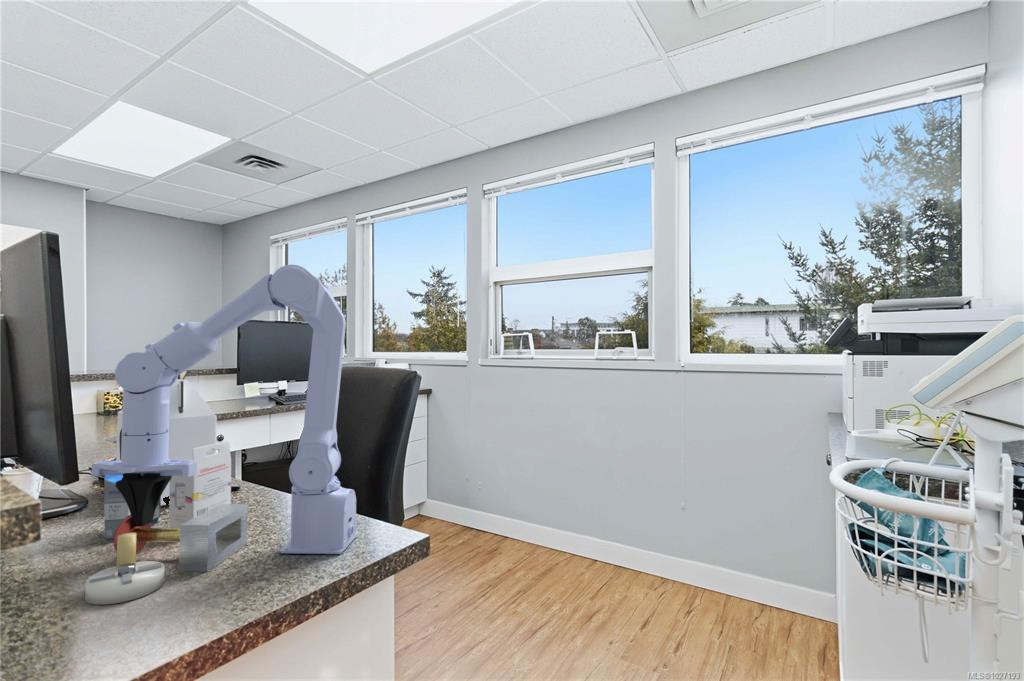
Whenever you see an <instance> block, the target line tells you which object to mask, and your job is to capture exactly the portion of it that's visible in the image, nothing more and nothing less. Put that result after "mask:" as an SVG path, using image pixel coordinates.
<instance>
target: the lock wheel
mask: <svg viewBox="0 0 1024 681" xmlns="http://www.w3.org/2000/svg"><path fill="white" fill-rule="evenodd" d="M128 563H135V564H136V571H135V573H133V574H131V573H129V574H125V575H122V576H118V567H119V566H121V565H124V564H128ZM165 569H166V568H165V564H164V563H163V562H161V561H155V560H154V561H153V560H150V561H149V560H144V561H143V560H142V561H137V554H136V533H126V534H122V535H119V536H118V539H117V552H116V565H115V566H112V567H109V568H106V569H103V570H101V571H98V572H96V573H94V574H93V575H91V576H89V577H88V578H87V580H85V585H84V586H85V589H84V590H85V591H84V592H85V593H84V600H85V602H86V603H88V604H91V605H101V606H102V605H104V606H105V605H113V604H119V603H124V602H128V601H129V602H130V601H132V600H135V599H139V598H142V597H144V596H147V595H148V594H151V593H153V592H155V591H157V590H158V589H160V588H161V587H162V586H163V585H164V584H165Z"/></svg>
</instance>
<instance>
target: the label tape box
mask: <svg viewBox="0 0 1024 681" xmlns="http://www.w3.org/2000/svg"><path fill="white" fill-rule="evenodd" d="M122 478H123V475H104V486H103V487H104V492H103V493H104V498H103V500H104V501H103V502H104V508H103V509H104V510H103V512H104V539H105V540H114V536H115V533H116V530H117V528H118V526H119V524H120V523H121V522H122V521H123V520H124V519H125V518H126V517H127V516H129V515H131V513H130V510H129V507H128V505H127V503H126V501H125V499H124V497H123V496H122V494H121V493H120V491H119V490H118V489H117V488H116V482H117V481H119V480H122ZM161 508H162V506H161V497H160V499H159V502H158V504H157V507H156V510H155V513H154V517H153V520H152V522H151V523H150V525H151V526H153V525H155V524H156V523H159V522H160V521H161V520H162V519H161V518H162V509H161Z"/></svg>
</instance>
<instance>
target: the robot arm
mask: <svg viewBox="0 0 1024 681" xmlns="http://www.w3.org/2000/svg"><path fill="white" fill-rule="evenodd" d="M287 307H288V308H289V309H291V310H293V311H294V312H296V313H298V314H299V316H300V317H301V318H302V319H303V320H304V321H305V322H306V323H307V325H309V326H310V327H311V328H312V339H311V349H310V359H309V370H308V378H307V379H308V380H307V387H306V388H307V390H306V400H305V407H304V408H305V410H304V418H303V419H304V421H303V428H302V432H301V436H300V438H299V441H298V448H297V454H296V456H295V458H294V459H293V460H292V461H291V463H290V466H289V468H288V477H289V480H290V482H291V484H292V486H291V504H290V509H291V510H290V541H289V542H287V543H286V544H285V545H284V546H282V548H280V549H279V552H278V553H279V554H303V555H304V554H305V555H307V554H309V555H310V554H314V555H316V554H319V555H321V554H322V555H323V554H325V555H329V554H330V555H340V554H343V552H344V551H346V549H347V547H348V546H349V545H351V543H352V542H353V541H354V540H355V538H357V537H358V533H357V528H356V527H357V496H356V492H355V490H354V489H352V488H345V487H342V486H341V481H339V479H338V477H337V475H335V474H336V473H337V472H338V470H339V468H340V467H341V463H342V457H341V452H340V451H339V450H340V449H339V448H338V432H337V431H338V430H337V418H338V410H339V409H338V407H339V399H340V387H341V377H342V368H343V359H344V358H343V356H344V346H345V338H346V336H345V334H346V326H347V321H346V318H345V315H344V313H343V311H342V309H341V308H340V306H339V305H338V303H337V301H336V300H335V298H334V296H333V294H332V292H331V290H330V288H329V287H328V286H327V285H326V284H325V283H324V282H322V281H321V280H320V279H319V278H318V277H316V276H315V275H313V274H312V273H311V272H310V271H309V270H308V269H307V268H305V267H303V266H300V265H298V264H287V265H286V264H285V265H283V266H280V267H279V268H278V269H276V270H275V271H274V272H273V274H272V273H269V274H267V275H265V276H263V277H261V278H260V279H259V280H258V281H257V282H255V283H254V285H251V286H250V287H249V288H248V289H247V290H245V291H244V292H241V294H239V295H238V296H237V297H235V298H234V299H233V300H231V301H230V302H229V303H227V304H226V305H225V306H223V307H221V308H220V309H219V310H218V311H216V312H215V313H213V314H212V315H211V316H209V317H207V318H206V319H205V320H204V321H203V322H198V321H187V322H186V323H183V322H178V323H177V324H175V325H173V326H172V329H173V330H174V331H172V332H170V333H169V334H167V335H166V336H165V337H163V338H162V339H160V340H158V341H157V342H155V343H154V342H150V343H148V344H146V345H145V346H144V349H145V351H144V352H141V351H140V352H139V351H137V352H130V353H127V354H126V355H125V356H124V357H123V358H122V359H121V360H120V361H119V362H118V363H117V365H116V367H115V370H114V376H115V381H116V382H117V385H118V386H120V388H122V408H123V411H122V445H121V460H116V459H115V460H101V461H96V462H92V463H91V477H101V476H105V475H123V478H122V480H119V481H117V482H116V488H117V489H118V490H119V491H120V493H121V494H122V496H123V497H124V499H125V501H126V503H127V505H128V507H129V510H130V513H131V516H132V520H133V524H134V526H145V525H147V524H149V523H151V522H152V520H153V517H154V513H155V510H156V507H157V504H158V502H159V499H160V497H161V495H162V493H163V491H164V489H165V488H166V486H167V484H168V483H169V481H170V480H171V478H172V476H182V477H190V476H192V475H195V474H196V473H197V462H196V461H181V460H173V459H168V445H169V407H170V401H169V400H170V388H171V386H172V385H173V384H174V383H175V381H176V380H177V378H178V375H180V374H182V373H183V372H185V371H189V370H190V369H191V368H192V367H193V366H195V365H197V364H198V363H200V362H201V361H202V360H204V359H205V358H207V357H209V356H210V355H211V354H213V353H214V352H216V351H217V349H218V348H217V347H218V343H219V340H220V338H222V337H223V336H225V335H227V334H228V333H230V332H232V331H234V330H235V329H237V328H239V327H240V326H241V325H243V324H245V323H247V322H249V321H250V320H251V319H253V318H255V317H256V316H258V315H260V314H261V313H262V312H266V311H267V312H272V311H285V310H287Z"/></svg>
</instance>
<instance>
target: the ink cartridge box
mask: <svg viewBox="0 0 1024 681" xmlns="http://www.w3.org/2000/svg"><path fill="white" fill-rule="evenodd" d="M230 443H231V442H230V441H229V440H225V441H221V442H216V443H215V444H211V445H206V446H202V447H198V448H194V449H193V450H192V454H193V461H196V462H197V473H196V474H195V475H192V476H190V477H182V476H172V478H171V480H170V496H169V499H170V501H169V504H168V505H169V506H168V507H169V508H168V509H169V511H168V512H169V514H168V516H169V521H168V524H169V525H168V526H169V527H168V528H180V525H181V524H183V523H185V522H187V521H189V520H191V519H193V518H195V517H197V516H199V515H201V514H203V513H205V512H207V511H209V510H211V509H213V508H215V507H217V506H219V505H221V504H232V503H231V502H232V501H231V500H232V499H231V498H232V457H231V444H230ZM211 449H213V450H216V451H218V452H216V454H213V455H208V456H206V452H209V451H210V450H211Z"/></svg>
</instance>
